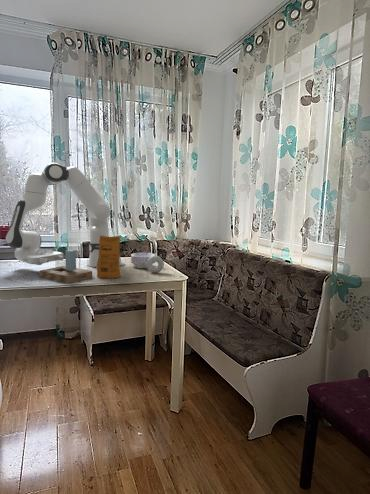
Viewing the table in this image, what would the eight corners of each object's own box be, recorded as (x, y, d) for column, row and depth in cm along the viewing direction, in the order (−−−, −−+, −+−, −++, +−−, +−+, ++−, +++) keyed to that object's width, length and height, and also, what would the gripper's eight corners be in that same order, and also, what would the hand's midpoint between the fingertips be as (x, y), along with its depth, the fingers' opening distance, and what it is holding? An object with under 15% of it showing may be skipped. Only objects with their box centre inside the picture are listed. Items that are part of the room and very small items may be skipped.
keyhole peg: (64, 278, 172) (63, 250, 170) (71, 276, 176) (71, 249, 174) (70, 279, 170) (70, 251, 168) (77, 278, 174) (77, 250, 172)
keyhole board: (39, 277, 173) (39, 270, 173) (64, 272, 187) (64, 265, 186) (68, 283, 163) (68, 276, 162) (92, 277, 177) (92, 270, 176)
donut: (163, 272, 195) (164, 255, 194) (163, 273, 192) (164, 256, 191) (146, 272, 194) (146, 255, 193) (146, 273, 191) (146, 256, 190)
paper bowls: (133, 270, 199) (134, 256, 198) (128, 265, 213) (128, 252, 212) (158, 268, 205) (158, 256, 204) (151, 264, 219) (151, 252, 218)
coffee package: (98, 274, 184) (98, 234, 181) (121, 274, 185) (121, 235, 182) (95, 278, 175) (95, 236, 172) (119, 278, 176) (119, 237, 173)
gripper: (20, 253, 175) (37, 256, 168) (53, 249, 193) (70, 251, 186) (20, 265, 176) (38, 268, 169) (53, 259, 194) (70, 262, 187)
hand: (55, 259), depth 178 cm, fingers open, 8 cm apart
